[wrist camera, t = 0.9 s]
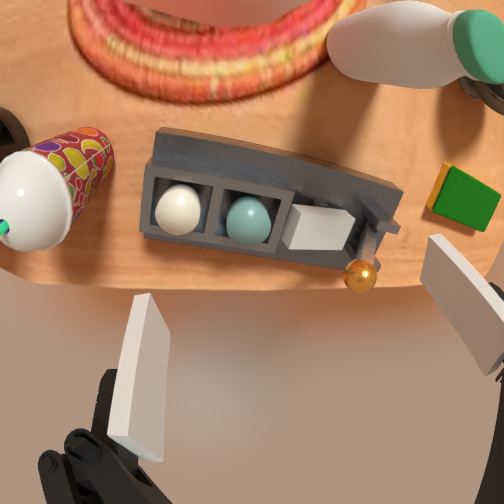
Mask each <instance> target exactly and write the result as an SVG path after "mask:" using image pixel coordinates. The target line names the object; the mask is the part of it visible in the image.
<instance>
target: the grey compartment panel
mask: <svg viewBox="0 0 504 504" xmlns="http://www.w3.org/2000/svg"><path fill="white" fill-rule="evenodd" d="M176 184H184V185H188V186H190V187H192V188H193V189H195V190H196V191H197V193H198V194H199V196H200V198H201V211H200V218H199V222H198V224H197V226H196V227H195V228H194V229H193V230H192V231H191V232H189V233H187V234H183V235H174V234H170V233H168V232H166V231H164V230H163V229H162V228H161V227H160V226H159V225H158V223H157V221H156V217H155V211H156V207H157V205H158V202H159V200H160V198H161V196H162V194H163V192H164V191H165V190H166V189H167V188H169V187H170V186H173V185H176ZM403 193H404V192H403V191H402V190H401V189H399V188H398V187H397V186H396V185H394V184H393V183H391V182H389V181H386V180H383V179H380V178H377V177H374V176H371V175H368V174H365V173H362V172H359V171H355V170H352V169H349V168H346V167H342V166H339V165H336V164H332V163H329V162H326V161H322V160H318V159H315V158H311V157H308V156H304V155H300V154H296V153H292V152H288V151H284V150H280V149H276V148H272V147H268V146H263V145H259V144H255V143H250V142H245V141H241V140H236V139H231V138H226V137H221V136H215V135H210V134H204V133H199V132H193V131H186V130H180V129H173V128H167V127H161V128H160V129H159V130H158V131H157V132H156V136H155V142H154V149H153V156H152V157H151V159H150V160H149V161H148V162H147V164H146V165H145V173H144V182H143V191H142V202H141V214H140V228H139V232H144V238H148V239H155V240H161V241H167V242H173V243H179V244H185V245H191V246H198V247H204V248H210V249H216V250H222V251H229V252H235V253H241V254H247V255H253V256H260V257H266V258H272V259H278V260H285V261H291V262H297V263H304V264H310V265H316V266H322V267H329V268H335V269H341V270H345V268H346V266H347V265H348V264H349V263H350V262H351V261H353V260H355V257H356V253H357V249H358V245H357V243H358V241H359V238H360V236H361V234H362V232H363V229H364V227H365V225H366V223H367V220H369V221H370V223H371V224H372V225H373V226H374V227H375V228H376V229H378V232H377V241H376V250H375V253H376V251H377V249H378V247H379V245H380V243H381V241H382V239H383V237H384V235H385V233H386V232H390V233H393V234H398V232H399V230H400V227H401V226H400V225H399V224H398V223H397V222H396V221H395V220H394V219H393V215H394V213H395V211H396V209H397V206H398V204H399V202H400V200H401V197H402V195H403ZM245 196H250V197H255V198H257V199H259V200H260V201H262V202H263V204H264V205H265V207H266V209H267V212H268V215H269V219H270V222H271V230H270V233H269V235H268V237H267V238H266V239H265V240H264V241H263V242H261V243H260V244H257V245H255V246H241V245H238V244H236V243H235V242H233V241H232V240H231V239H230V237H229V235H228V233H227V224H226V213H227V209H228V207H229V205H230V204H231V203H232V202H233V201H234V200H236V199H238V198H240V197H245ZM292 204H296V205H306V206H315V207H323V208H332V209H340V210H346V211H347V212H348V213H349V214H350V215H351V216H353V217H354V218H355V221H354V224H353V226H352V228H351V231H350V233H349V235H348V238H347V240H346V242H345V244H344V247H343V249H342V250H303V249H288V248H287V246H286V245H285V244H284V242H283V241H282V240H281V236H282V233H283V230H284V227H285V224H286V221H287V218H288V215H289V212H290V209H291V206H292ZM374 267H375V269H376V272H378V271H379V269H380V267H381V264H380V263H379V261H378V260H377V258H376V257H375V258H374Z"/></svg>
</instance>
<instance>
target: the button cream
mask: <svg viewBox="0 0 504 504" xmlns="http://www.w3.org/2000/svg"><path fill="white" fill-rule="evenodd" d="M200 211H201V198H200V196H199V194H198V193H197V191H196V190H195V189H193V188H192V187H190V186H188V185H184V184H176V185H173V186H170V187H169V188H167V189H166V190H165V191H164V192H163V194H162V196H161V198H160V200H159V202H158V205H157V207H156V211H155V217H156V221H157V223H158V225H159V226H160V227H161V228H162V229H163V230H164V231H166V232H168V233H170V234H174V235H183V234H187V233H189V232H191V231H192V230H193V229H194V228H195V227H196V226H197V224H198V222H199V218H200Z"/></svg>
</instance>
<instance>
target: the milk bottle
mask: <svg viewBox="0 0 504 504" xmlns="http://www.w3.org/2000/svg"><path fill="white" fill-rule="evenodd" d="M327 51H328V54H329V57H330V59H331V61H332V63H333V64H334V65H335V67H336V68H337V69H338V70H339V71H340V72H341V73H343V74H344V75H346V76H348V77H350V78H352V79H355V80H360V81H366V82H373V83H381V84H387V85H394V86H401V87H409V88H417V89H432V88H438V87H442V86H445V85H447V84H449V83H451V82H453V81H455V80H456V79H458V78H460V77H462V76H467V77H469V78H470V79H473V80H477V81H482V82H486V83H490V84H496V85H498V84H504V24H503V23H502V21H501V20H500V19H499V18H498V17H497V16H495V15H494V14H492V13H490V12H488V11H485V10H467V11H463V10H461V11H457V12H455V13H454V14H451V13H448V12H445V11H443V10H441V9H439V8H437V7H435V6H432V5H430V4H427V3H423V2H419V1H410V0H406V1H396V2H391V3H386V4H382V5H379V6H376V7H372V8H369V9H366V10H363V11H360V12H358V13H355V14H352V15H350V16H347V17H345V18H342V19H340V20H339V21H337V22H336V23H335V24H334V25H333V26H332V27H331V29H330V31H329V33H328V36H327Z"/></svg>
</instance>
